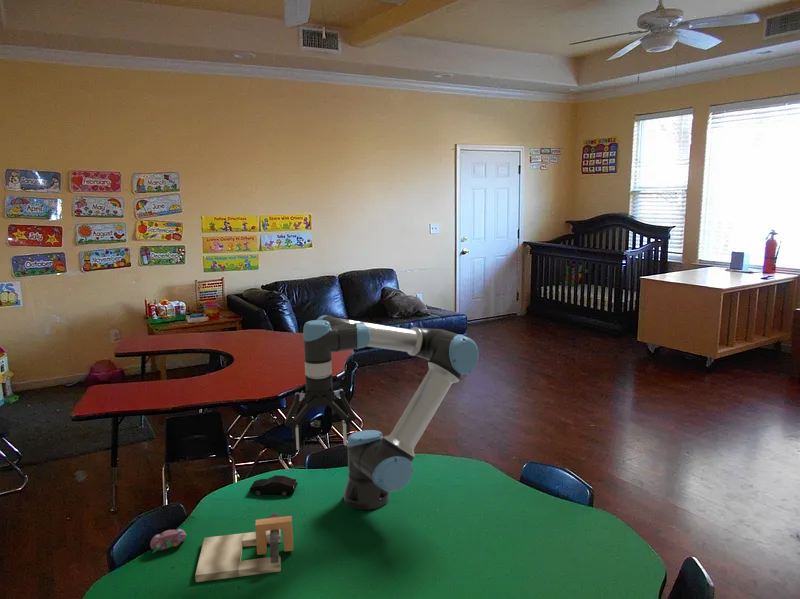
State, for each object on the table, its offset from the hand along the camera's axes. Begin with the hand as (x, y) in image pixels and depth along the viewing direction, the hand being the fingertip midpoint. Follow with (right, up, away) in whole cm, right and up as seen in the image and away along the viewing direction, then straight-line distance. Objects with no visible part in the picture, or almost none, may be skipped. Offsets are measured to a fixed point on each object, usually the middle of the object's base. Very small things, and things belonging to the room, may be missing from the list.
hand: (321, 445), depth 172 cm
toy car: (-21, -24, +33) cm, 46 cm away
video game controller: (-45, -30, +1) cm, 54 cm away
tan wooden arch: (-13, -29, -3) cm, 32 cm away
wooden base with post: (-22, -30, -4) cm, 38 cm away
